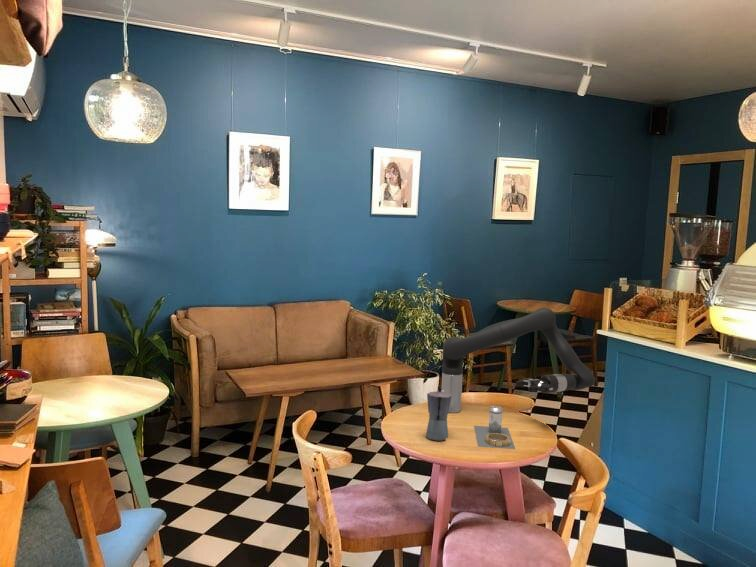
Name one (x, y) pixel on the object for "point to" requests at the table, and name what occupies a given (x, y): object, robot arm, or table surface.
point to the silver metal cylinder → (495, 419)
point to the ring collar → (497, 443)
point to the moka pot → (438, 415)
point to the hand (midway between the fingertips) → (522, 386)
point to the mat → (480, 437)
